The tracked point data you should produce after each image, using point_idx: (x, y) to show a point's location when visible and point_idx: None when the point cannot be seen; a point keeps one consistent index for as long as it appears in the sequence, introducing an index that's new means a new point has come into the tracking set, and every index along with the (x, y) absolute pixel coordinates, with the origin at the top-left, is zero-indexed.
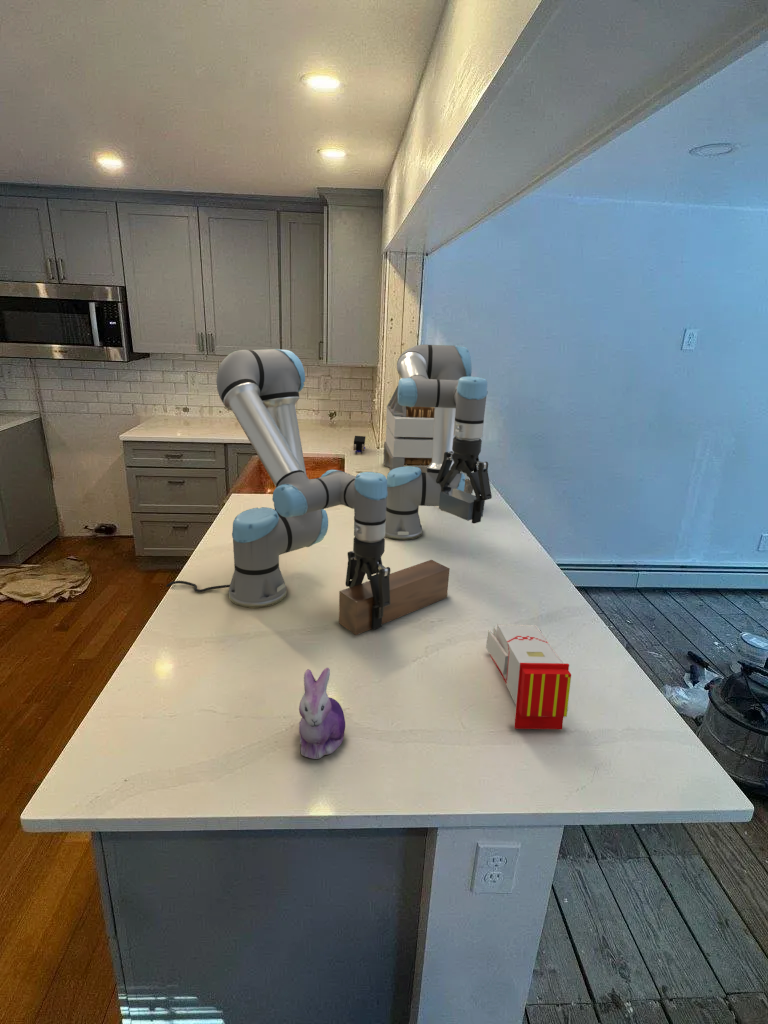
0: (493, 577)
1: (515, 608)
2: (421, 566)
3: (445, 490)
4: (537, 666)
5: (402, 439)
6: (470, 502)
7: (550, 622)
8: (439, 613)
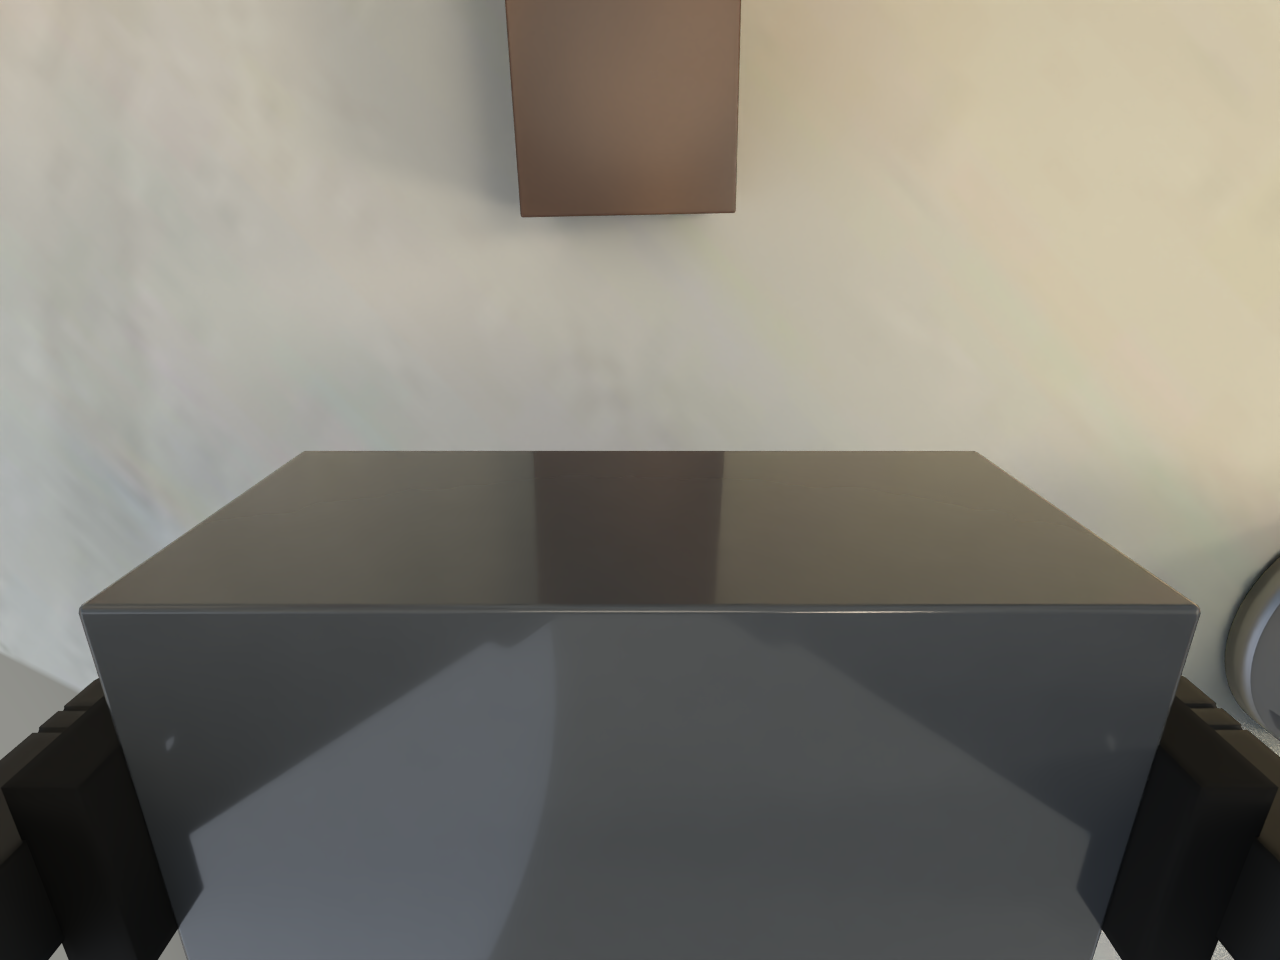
0: None
1: (260, 453)
2: (685, 16)
3: (1150, 783)
4: None
5: None
6: (107, 658)
7: (68, 485)
8: (423, 12)
